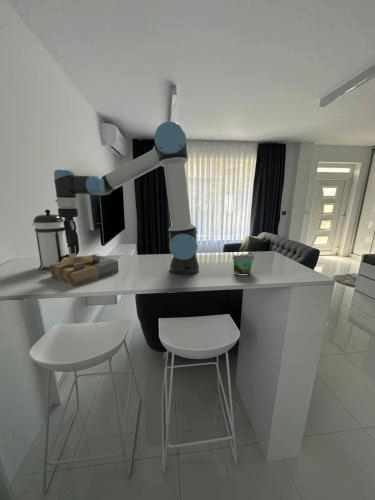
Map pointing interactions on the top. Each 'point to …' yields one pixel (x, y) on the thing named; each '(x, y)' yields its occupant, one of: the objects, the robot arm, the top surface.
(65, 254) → the coffee press
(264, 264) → the top surface
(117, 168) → the robot arm
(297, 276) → the top surface
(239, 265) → the food container
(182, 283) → the top surface
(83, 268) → the slotted wooden block
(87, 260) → the lock bar
